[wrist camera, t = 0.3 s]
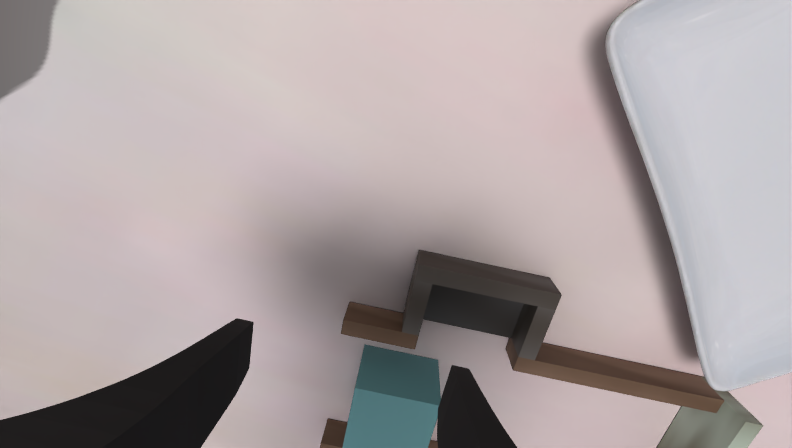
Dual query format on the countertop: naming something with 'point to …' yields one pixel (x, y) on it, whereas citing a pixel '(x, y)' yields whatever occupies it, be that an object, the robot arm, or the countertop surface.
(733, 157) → the salad plate
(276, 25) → the countertop surface
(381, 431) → the teal block
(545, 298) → the trap channel
